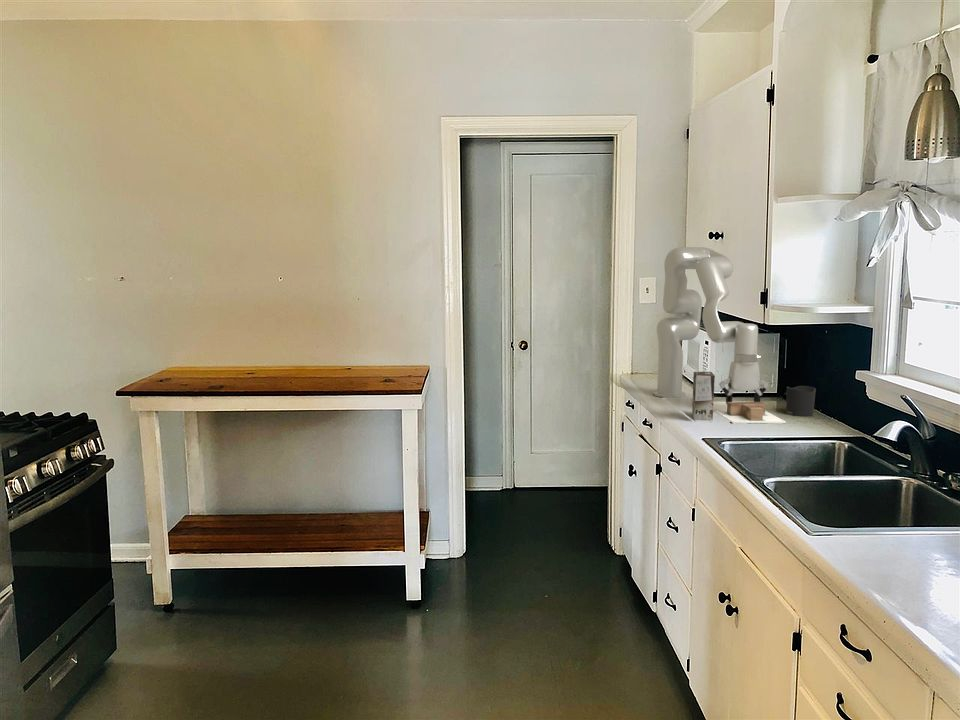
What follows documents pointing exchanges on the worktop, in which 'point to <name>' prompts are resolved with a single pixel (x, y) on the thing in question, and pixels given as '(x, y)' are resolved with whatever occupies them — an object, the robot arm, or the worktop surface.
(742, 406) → the t block
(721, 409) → the board
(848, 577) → the worktop surface
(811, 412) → the pen holder
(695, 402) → the coffee box
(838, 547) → the worktop surface
